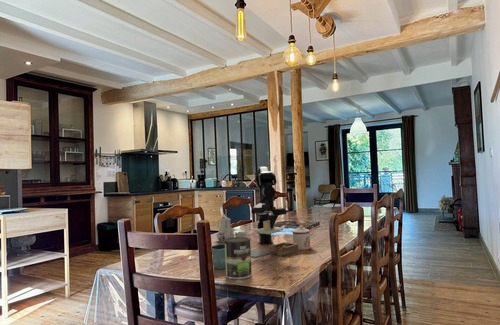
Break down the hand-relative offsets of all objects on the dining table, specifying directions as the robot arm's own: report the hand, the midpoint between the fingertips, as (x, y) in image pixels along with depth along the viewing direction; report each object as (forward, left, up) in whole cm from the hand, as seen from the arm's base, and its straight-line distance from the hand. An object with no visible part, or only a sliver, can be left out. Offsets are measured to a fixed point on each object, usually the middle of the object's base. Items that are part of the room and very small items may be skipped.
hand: (269, 228), depth 165 cm
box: (+5, +4, -12) cm, 14 cm away
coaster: (-6, -5, -12) cm, 14 cm away
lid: (0, 0, -1) cm, 1 cm away
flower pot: (-1, -31, -13) cm, 33 cm away
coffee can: (+14, -34, -13) cm, 39 cm away
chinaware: (-45, +12, -13) cm, 48 cm away
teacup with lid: (+5, +19, -13) cm, 24 cm away
